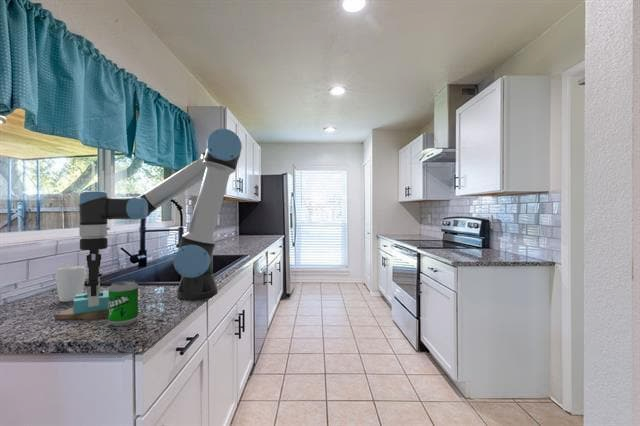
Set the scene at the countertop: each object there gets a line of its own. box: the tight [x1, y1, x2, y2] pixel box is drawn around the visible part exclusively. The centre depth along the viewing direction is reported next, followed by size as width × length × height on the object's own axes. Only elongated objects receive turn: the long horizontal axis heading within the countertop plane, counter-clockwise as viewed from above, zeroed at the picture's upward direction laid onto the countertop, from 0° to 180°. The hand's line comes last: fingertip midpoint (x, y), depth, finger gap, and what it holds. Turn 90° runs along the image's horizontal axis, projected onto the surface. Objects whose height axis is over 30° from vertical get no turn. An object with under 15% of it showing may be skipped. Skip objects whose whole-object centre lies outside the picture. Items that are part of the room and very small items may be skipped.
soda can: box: [107, 280, 139, 327], centre depth 93 cm, size 8×8×12 cm
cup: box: [54, 265, 87, 303], centre depth 117 cm, size 9×9×12 cm
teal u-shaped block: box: [72, 289, 109, 314], centre depth 103 cm, size 10×10×4 cm
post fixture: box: [54, 279, 108, 320], centre depth 103 cm, size 14×14×10 cm
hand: (94, 300), depth 103 cm, fingers open, 13 cm apart
